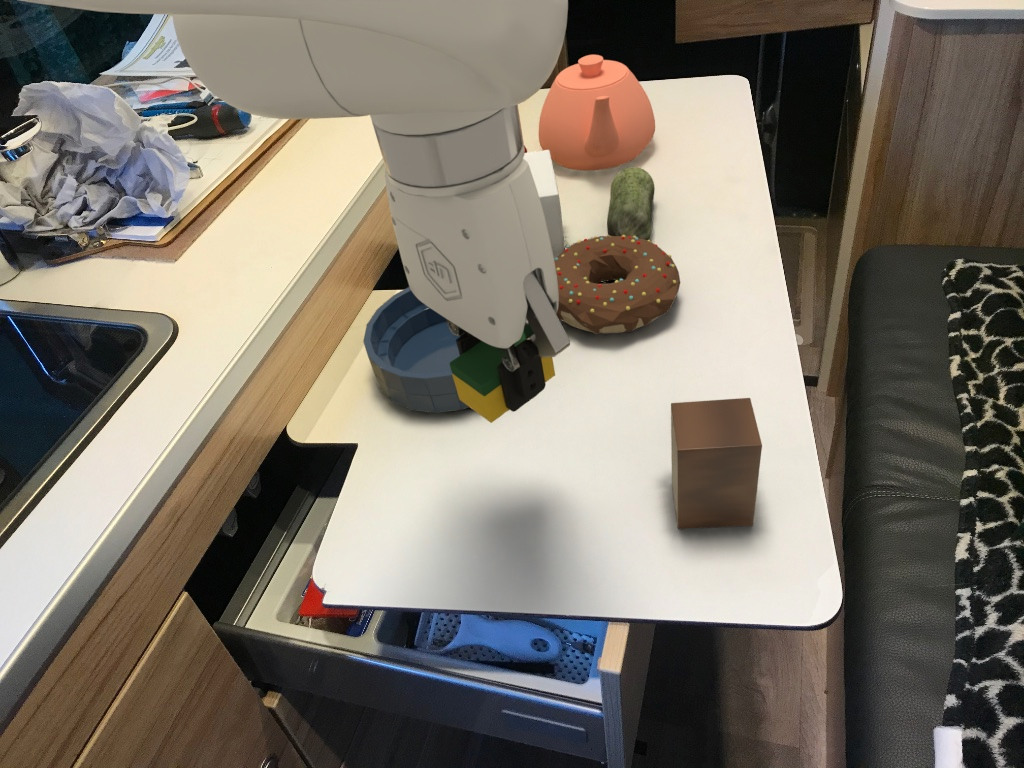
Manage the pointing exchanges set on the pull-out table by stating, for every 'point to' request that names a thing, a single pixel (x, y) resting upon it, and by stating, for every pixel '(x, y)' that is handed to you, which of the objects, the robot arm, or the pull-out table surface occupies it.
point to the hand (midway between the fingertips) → (505, 383)
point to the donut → (624, 302)
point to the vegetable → (631, 204)
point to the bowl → (413, 354)
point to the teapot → (595, 116)
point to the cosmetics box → (548, 196)
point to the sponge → (485, 379)
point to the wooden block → (714, 462)
